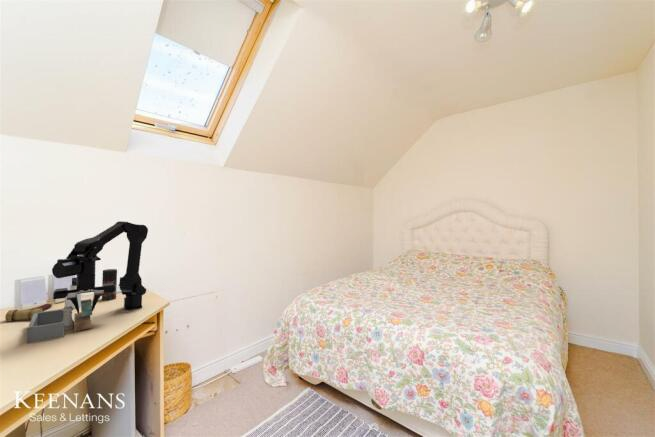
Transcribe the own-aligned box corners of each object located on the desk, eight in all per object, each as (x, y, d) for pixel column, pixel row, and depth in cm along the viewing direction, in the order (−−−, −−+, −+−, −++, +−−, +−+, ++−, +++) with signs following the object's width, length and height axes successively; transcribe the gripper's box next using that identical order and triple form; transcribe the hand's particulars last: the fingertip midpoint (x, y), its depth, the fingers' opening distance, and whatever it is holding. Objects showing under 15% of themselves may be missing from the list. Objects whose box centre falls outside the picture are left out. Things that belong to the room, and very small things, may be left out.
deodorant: (104, 297, 152) (105, 269, 152) (117, 297, 154) (118, 268, 154) (99, 300, 146) (100, 271, 146) (113, 300, 148) (114, 271, 148)
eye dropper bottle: (67, 306, 135) (67, 281, 135) (82, 305, 138) (83, 280, 138) (63, 309, 131) (63, 283, 131) (78, 308, 134) (79, 282, 134)
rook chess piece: (65, 325, 114) (66, 305, 114) (77, 325, 114) (78, 305, 114) (56, 329, 109) (56, 308, 109) (68, 330, 110) (69, 309, 110)
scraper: (91, 317, 122) (90, 296, 122) (93, 327, 112) (91, 304, 111) (75, 320, 119) (73, 299, 118) (74, 331, 108) (73, 308, 108)
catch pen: (65, 320, 119) (65, 308, 119) (63, 336, 104) (64, 322, 104) (33, 325, 113) (34, 312, 113) (26, 343, 98) (27, 328, 98)
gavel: (38, 300, 135) (65, 299, 138) (38, 310, 134) (64, 308, 137) (5, 311, 115) (37, 309, 118) (4, 323, 114) (36, 321, 118)
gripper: (113, 267, 127) (112, 302, 127) (55, 272, 115) (54, 311, 115) (115, 271, 119) (115, 309, 119) (53, 277, 107) (52, 319, 107)
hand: (85, 312), depth 115 cm, fingers open, 4 cm apart
